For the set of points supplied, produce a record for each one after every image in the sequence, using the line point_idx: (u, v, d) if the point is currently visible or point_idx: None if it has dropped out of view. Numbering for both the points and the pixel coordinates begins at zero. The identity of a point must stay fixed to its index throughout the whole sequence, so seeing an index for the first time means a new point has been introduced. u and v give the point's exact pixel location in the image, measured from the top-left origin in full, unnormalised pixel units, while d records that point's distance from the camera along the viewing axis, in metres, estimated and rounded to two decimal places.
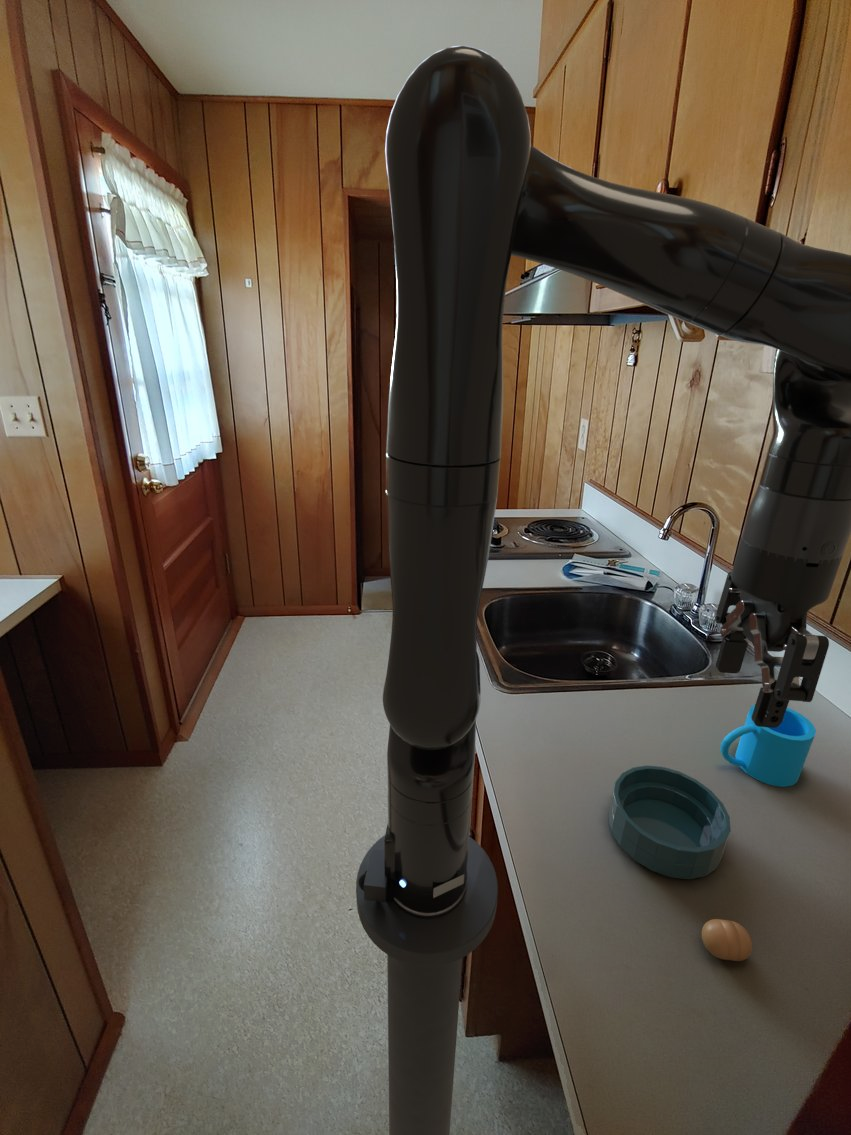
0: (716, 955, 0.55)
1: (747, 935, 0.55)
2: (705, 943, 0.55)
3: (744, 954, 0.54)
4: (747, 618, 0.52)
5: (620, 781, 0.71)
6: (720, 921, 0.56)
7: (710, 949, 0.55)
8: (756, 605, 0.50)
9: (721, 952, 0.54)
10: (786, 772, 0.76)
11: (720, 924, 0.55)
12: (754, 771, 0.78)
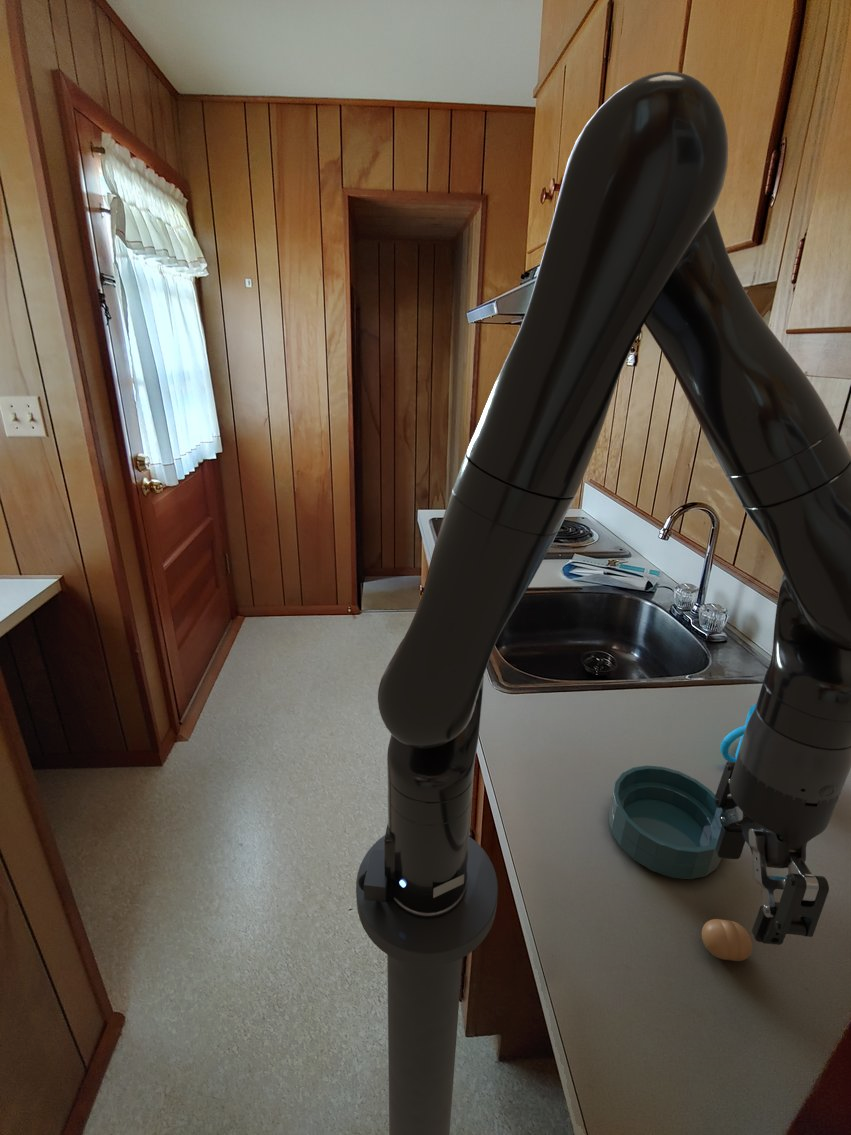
0: (716, 955, 0.55)
1: (747, 935, 0.55)
2: (705, 943, 0.55)
3: (744, 954, 0.54)
4: (746, 823, 0.51)
5: (620, 781, 0.71)
6: (720, 921, 0.56)
7: (710, 949, 0.55)
8: None
9: (721, 952, 0.54)
10: None
11: (720, 924, 0.55)
12: None
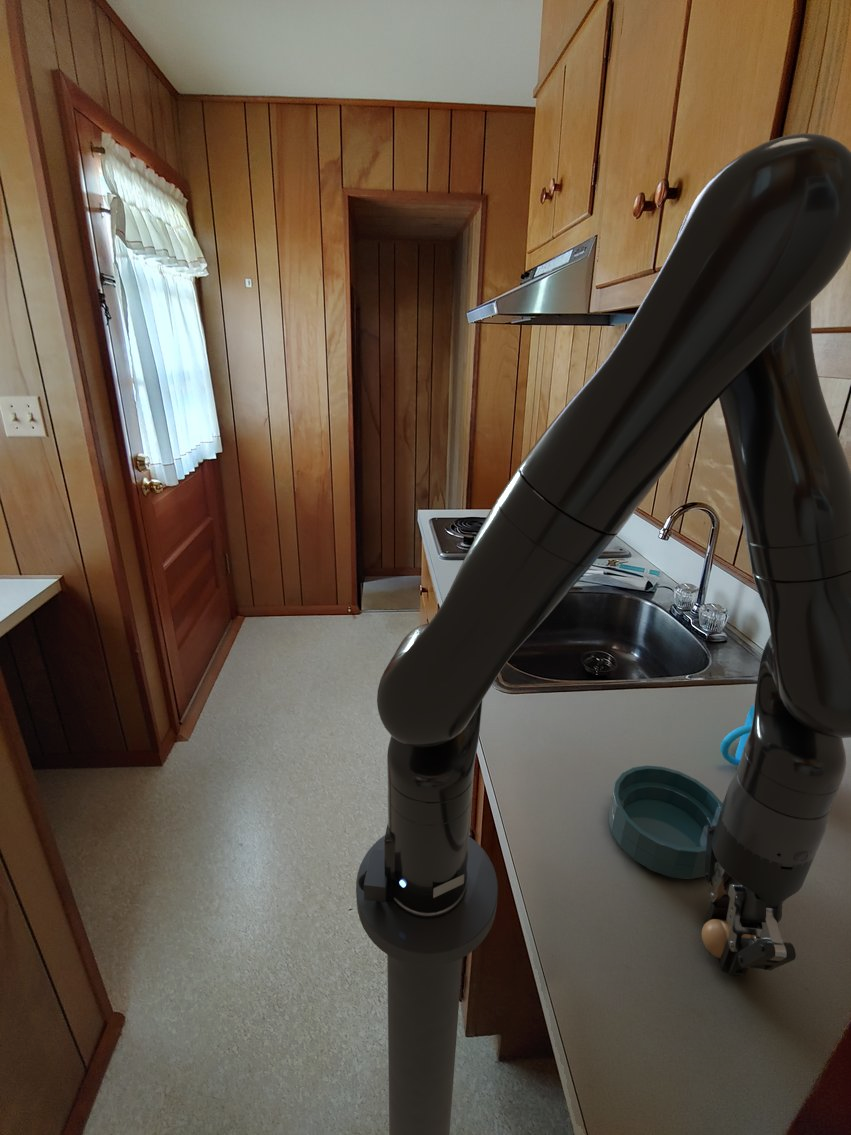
0: (716, 955, 0.55)
1: (747, 935, 0.55)
2: (705, 943, 0.55)
3: None
4: None
5: (620, 781, 0.71)
6: (720, 921, 0.56)
7: (710, 949, 0.55)
8: None
9: (721, 952, 0.54)
10: None
11: (720, 924, 0.55)
12: None
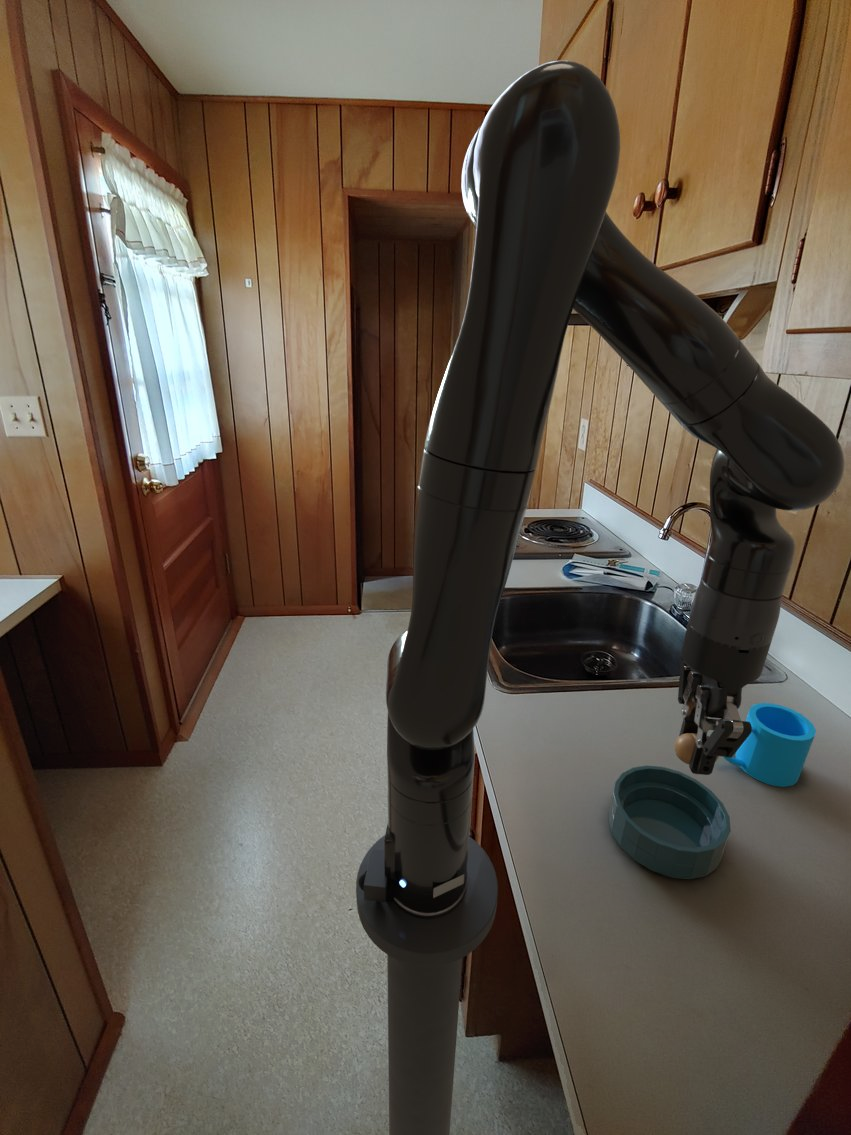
0: (686, 760, 0.61)
1: None
2: (677, 752, 0.61)
3: None
4: (696, 686, 0.60)
5: (620, 781, 0.71)
6: (691, 733, 0.62)
7: (681, 755, 0.61)
8: (703, 677, 0.58)
9: (691, 756, 0.60)
10: (786, 772, 0.76)
11: (691, 734, 0.61)
12: (754, 771, 0.78)
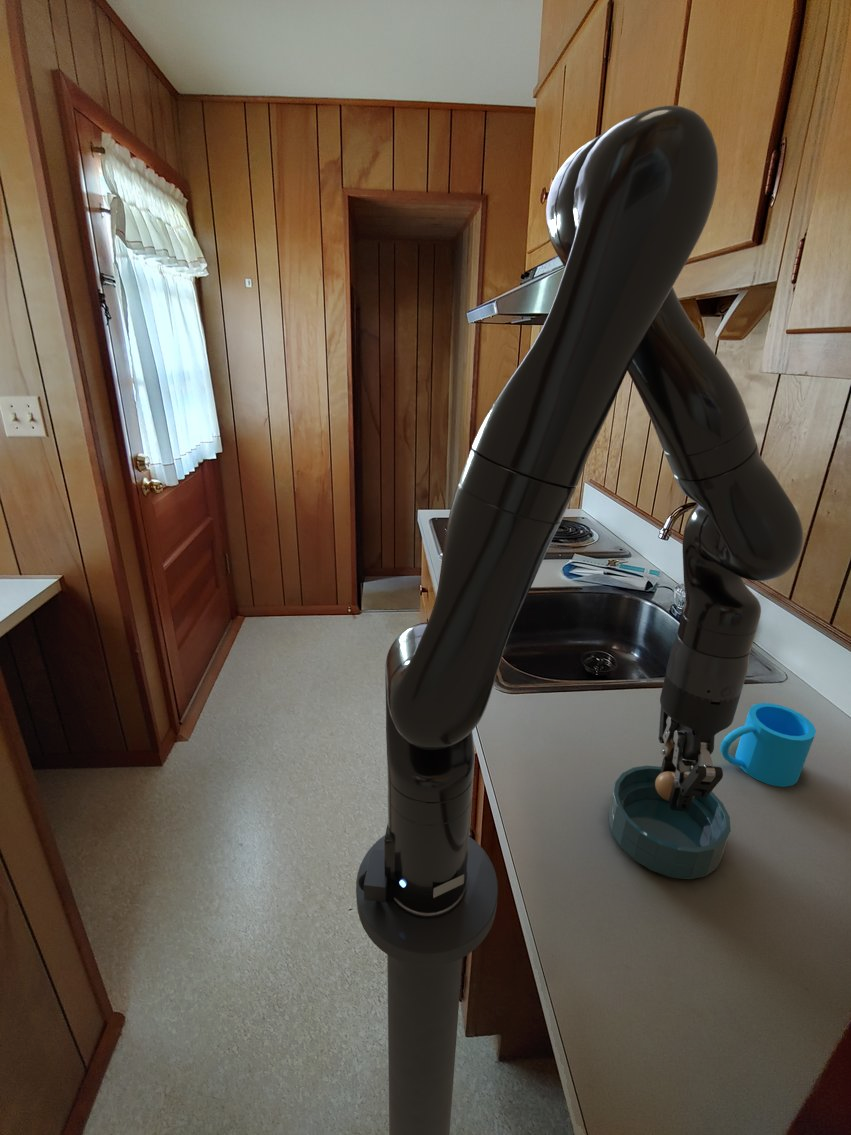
0: (666, 797, 0.65)
1: None
2: (657, 789, 0.66)
3: None
4: (674, 729, 0.64)
5: (620, 781, 0.71)
6: (670, 771, 0.66)
7: (661, 793, 0.65)
8: None
9: (670, 794, 0.65)
10: (786, 772, 0.76)
11: (670, 773, 0.66)
12: (754, 771, 0.78)
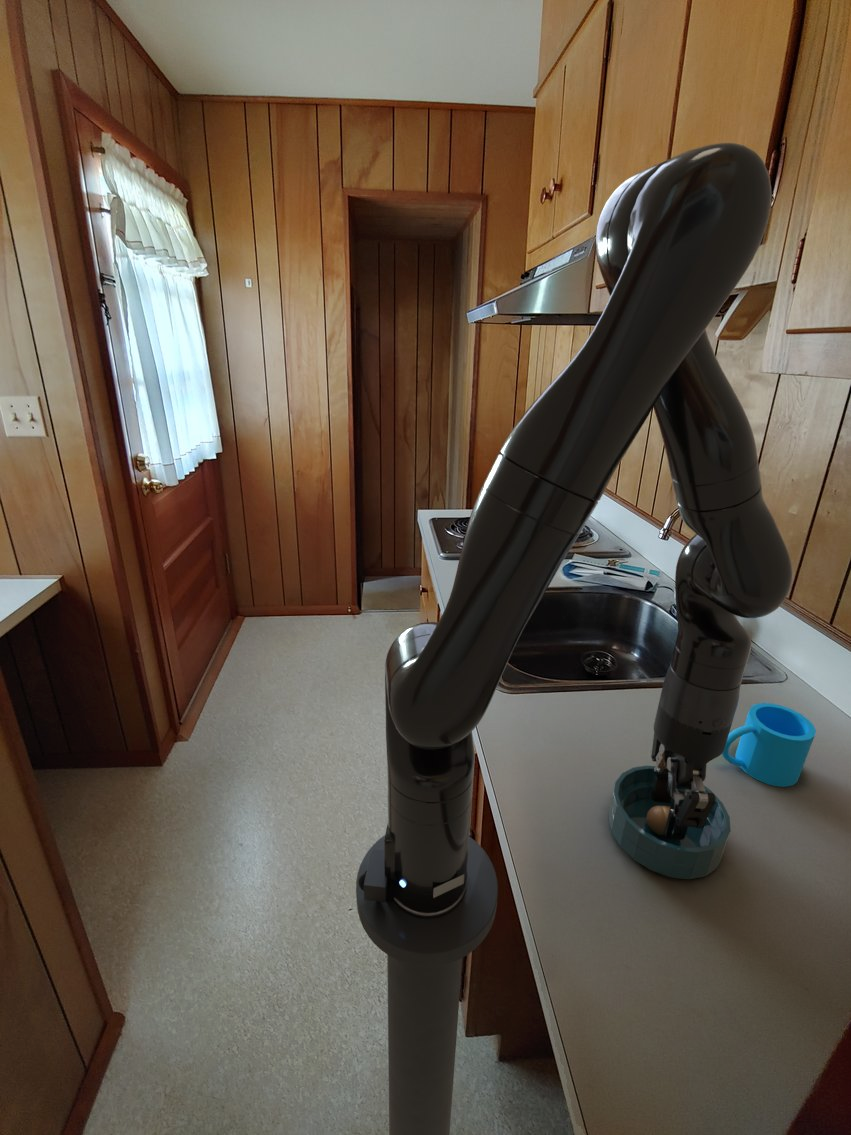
0: (657, 832, 0.67)
1: None
2: (648, 823, 0.68)
3: None
4: (668, 755, 0.66)
5: (620, 781, 0.71)
6: (661, 806, 0.69)
7: (652, 827, 0.68)
8: None
9: (660, 828, 0.67)
10: (786, 772, 0.76)
11: (661, 808, 0.68)
12: (754, 771, 0.78)
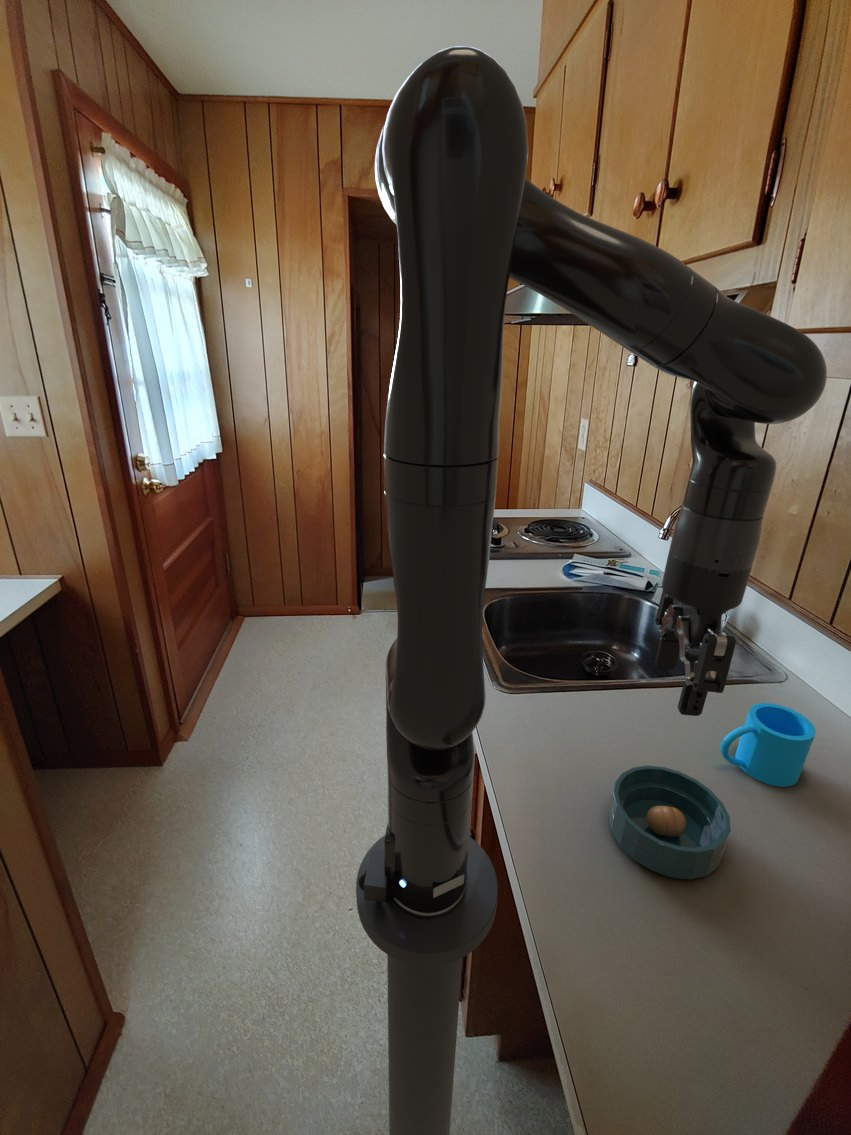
0: (657, 832, 0.67)
1: (682, 816, 0.68)
2: (648, 823, 0.68)
3: (679, 829, 0.67)
4: (677, 620, 0.59)
5: (620, 781, 0.71)
6: (661, 806, 0.69)
7: (652, 827, 0.68)
8: (683, 609, 0.57)
9: (660, 828, 0.67)
10: (786, 772, 0.76)
11: (661, 808, 0.68)
12: (754, 771, 0.78)
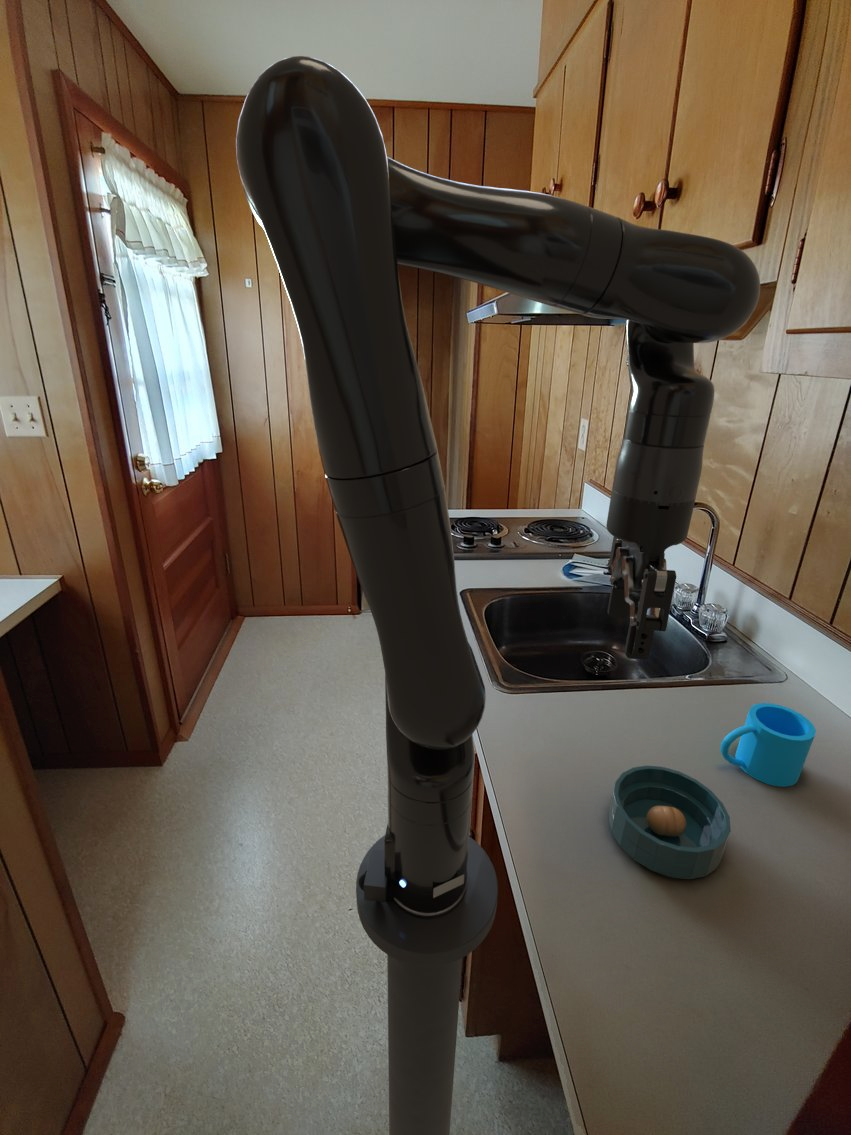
0: (657, 832, 0.67)
1: (682, 816, 0.68)
2: (648, 823, 0.68)
3: (679, 829, 0.67)
4: None
5: (620, 781, 0.71)
6: (661, 806, 0.69)
7: (652, 827, 0.68)
8: (629, 550, 0.56)
9: (660, 828, 0.67)
10: (786, 772, 0.76)
11: (661, 808, 0.68)
12: (754, 771, 0.78)
